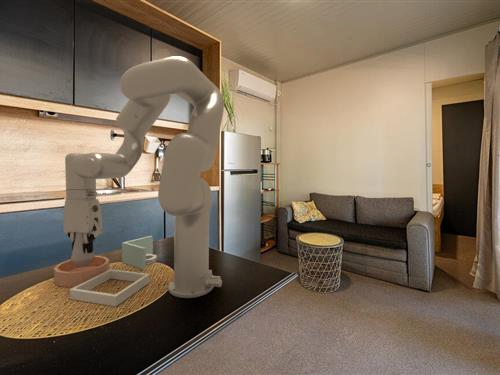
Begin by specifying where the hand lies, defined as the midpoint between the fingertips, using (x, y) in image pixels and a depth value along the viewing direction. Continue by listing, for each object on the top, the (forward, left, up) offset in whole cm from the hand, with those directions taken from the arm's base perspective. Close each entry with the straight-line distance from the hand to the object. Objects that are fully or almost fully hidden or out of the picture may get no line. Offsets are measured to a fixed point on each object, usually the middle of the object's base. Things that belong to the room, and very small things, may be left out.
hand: (82, 254), depth 76 cm
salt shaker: (0, 0, -3) cm, 3 cm away
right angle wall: (-10, -17, -8) cm, 21 cm away
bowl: (0, 0, -7) cm, 7 cm away
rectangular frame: (-15, +5, -7) cm, 17 cm away
